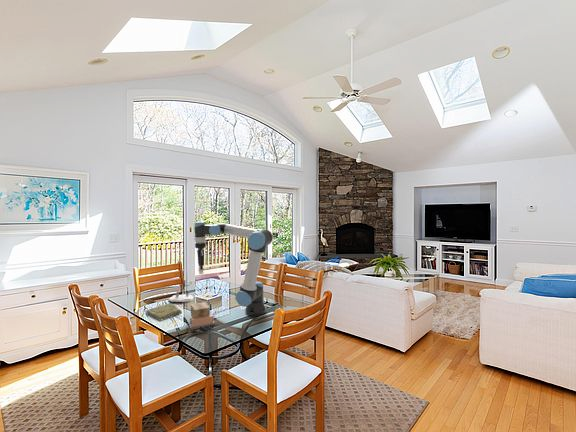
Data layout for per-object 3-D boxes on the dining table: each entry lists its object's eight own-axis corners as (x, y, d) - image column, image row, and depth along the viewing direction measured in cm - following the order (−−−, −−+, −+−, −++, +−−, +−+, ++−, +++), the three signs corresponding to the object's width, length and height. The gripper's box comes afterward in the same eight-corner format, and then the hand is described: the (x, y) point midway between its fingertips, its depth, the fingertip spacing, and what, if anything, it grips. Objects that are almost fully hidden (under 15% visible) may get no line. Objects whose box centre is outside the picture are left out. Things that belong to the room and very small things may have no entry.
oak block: (207, 315, 222) (207, 301, 221) (212, 321, 212) (212, 307, 211) (188, 319, 216) (188, 304, 215) (192, 325, 205) (191, 310, 204)
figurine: (169, 304, 246) (171, 283, 246) (167, 297, 263) (169, 278, 262) (195, 302, 255) (197, 283, 254) (192, 296, 271) (193, 277, 271)
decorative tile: (160, 321, 217) (160, 316, 217) (146, 313, 230) (146, 309, 230) (184, 313, 232) (183, 308, 232) (169, 306, 245) (169, 302, 244)
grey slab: (206, 313, 230) (206, 305, 229) (215, 324, 211) (214, 315, 210) (184, 317, 222) (184, 308, 222) (190, 329, 203) (190, 320, 202)
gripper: (193, 241, 234) (194, 272, 236) (196, 244, 223) (198, 276, 225) (203, 240, 238) (204, 271, 240) (207, 243, 226) (208, 274, 228)
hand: (201, 273), depth 232 cm, fingers closed
